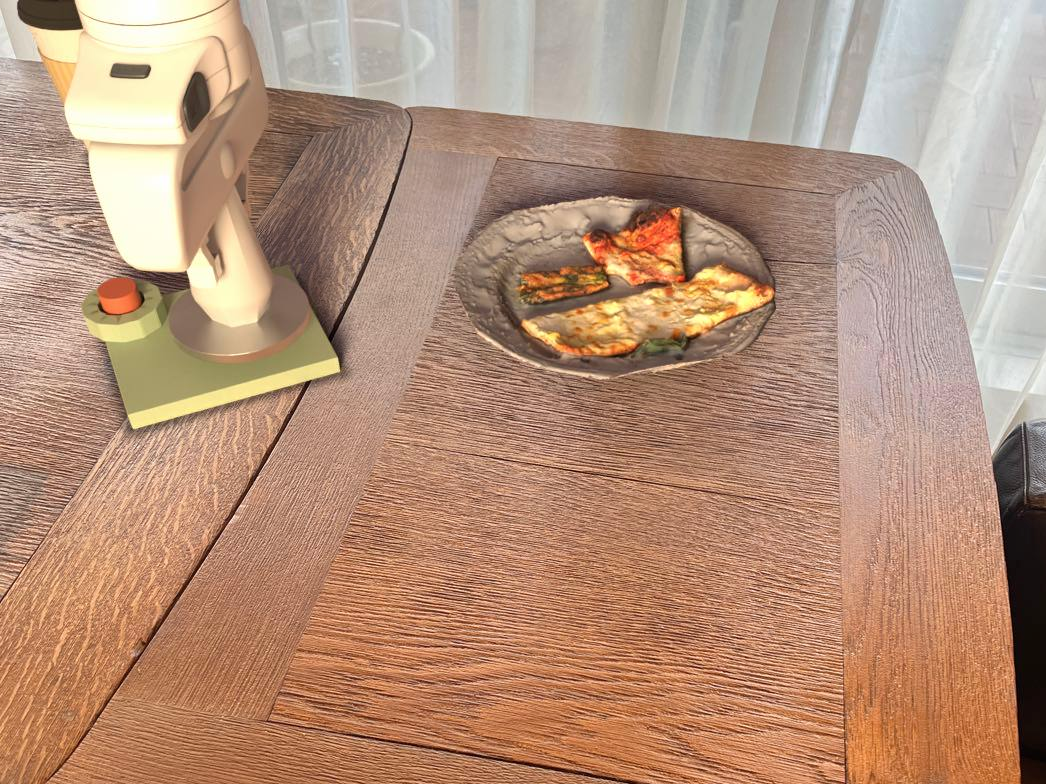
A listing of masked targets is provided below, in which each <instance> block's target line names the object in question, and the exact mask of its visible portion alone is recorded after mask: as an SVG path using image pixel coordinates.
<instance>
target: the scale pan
mask: <svg viewBox="0 0 1046 784" xmlns="http://www.w3.org/2000/svg"><path fill="white" fill-rule="evenodd" d="M273 276H274V283H275V284H274V288H273V293H272V297H271V301H270V306H269V308H268V309H267V311H266V312H265V313H264V314H263V316H262V317H261V318H260V319H259V321H258V322H255V323H251V324H246V325H242V326H237V327H229V326H227V325H224V324H222V323H219V322H217V321H214V320H212V319H211V318H210V317H209V315H208V314H207V313H206V312H205V311H204V310H203V309H202V308H201V307H200V305H199V304H198V303H197V302H196V301H195V299H194V297H193V295H192V292H191V288H188V289H189V290H188V291H186V292H185V293H184V294H183V295H182V296H180V297H179V298H178V300H177V301H176V302H175V303H174V305H173V306H172V308H171V310H170V313H169V317H168V326H169V330H170V333H171V336H172V338H173V340H174V342H175V344H176V345H177V346H178V347H179V348H180V349H181V350H182V351H183V352H185V353H186V354H188V355H190V356H192V357H194V358H196V359H199V360H203V361H207V362H212V363H221V364H234V363H244V362H251V361H255V360H259V359H263V358H266V357H269V356H271V355H274V354H276V353H278V352H280V351H282V350H284V349H286V348H287V347H289V346H290V345H292V344H293V343H294V342H295V341H297V340H298V339H299V338H300V337H301V336H302V334H303V333H304V332H305V330H306V329H307V327H308V325H309V321H310V316H311V312H310V306H311V305H310V306H309V304H310V301H309V298H308V296H307V293H306V291H304V288H302V287H301V285H300V284H299V285H300V286H299V285H297V284H296V283H295V282H293V281H291V280H289V279H287V278H285V277H282V276H279V275H276V274H273Z"/></svg>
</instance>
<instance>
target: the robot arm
mask: <svg viewBox="0 0 1046 784" xmlns="http://www.w3.org/2000/svg"><path fill="white" fill-rule="evenodd" d="M75 4H76V7H77V10H78V13H79V16H80V19H81V23H82V26H83V29H84V31H82V32H81V34H80V37H79V51H78V58H77V63H76V68H75V72H74V75H73V78H72V82H71V85H70V88H69V90H68V93H67V96H66V100H65V104H63V109H64V117H65V119H66V122H67V125H68V128H69V130H70V133H71V134H72V136H73V137H74V139H76V140H80V141H83V140H88V141H90V145H89V152H88V153H87V155H88V158H87V159H88V165H89V166H88V167H89V172H90V176H91V181H92V184H93V187H94V190H95V193H96V196H97V199H98V203H99V205H100V208H101V211H102V214H103V216H104V219H105V222H106V225H107V227H108V229H109V232H110V235H111V237H112V240H113V242H114V245H115V247H116V249H117V251H118V253H119V255H120V257H121V258H122V259H123V260H124V262H125V263H126V264H127V265H129V266H130V267H132V268H133V269H136V270H137V271H142V272H144V271H145V272H158V273H184V272H186V273H187V277H188V281H189V280H190V283H191V284H192V285H193V286H194V287H196V288H208V289H213V288H215V287H216V286H217V284H218V281H219V279H220V277H221V275H222V273H223V271H222V268H221V266H220V259H219V255H218V254H216V253H210V251H209V250H208V248H207V246H206V244H207V243H208V240H209V238H208V235H207V234H208V232H209V230H210V228H211V227H212V225H213V223H214V221H215V219H216V217H217V216H218V214H219V212H220V210H221V208H222V206H223V205H224V203H225V201H226V199H227V197H228V195H229V193H230V192H231V190H232V188H233V186H234V185H235V187H236V190H237V192H238V194H239V197H240V199H241V201H242V204H243V206H244V208H245V211H246V213H247V215H248V218H249V220H250V221H251V218H252V215H253V212H252V208H251V203H250V199H249V193H250V192H249V191H250V162H249V158H250V157H251V155H252V153H253V151H254V149H255V147H256V145H257V144H258V142H259V140H260V139H261V137H262V135H263V133H264V131H265V129H266V128H267V126H268V124H269V121H270V120H269V118H270V100H269V96H268V91H267V86H266V83H265V78H264V75H263V71H262V67H261V63H260V59H259V55H258V51H257V48H256V45H255V42H254V39H253V37H252V34H251V32H250V29H249V27H248V26H247V25H246V24H245V23H244V18H243V15H242V14H243V13H242V10H241V9H242V8H241V4H240V0H75ZM225 141H230V143H231V146H232V148H233V150H234V153H235V156H236V162H237V166H236V170H235V172H234V174H233V175H232V176H231V177H230V178H228V179H226V178H225V176H224V173H223V170H222V166H221V158H220V155H221V150H222V146H223V144H224V143H225ZM190 283H189V284H190Z"/></svg>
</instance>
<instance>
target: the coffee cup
mask: <svg viewBox="0 0 1046 784" xmlns="http://www.w3.org/2000/svg"><path fill="white" fill-rule="evenodd" d="M16 10H17V16H18V18H19V21H20V22H22V23H23V24H25V25H27V26H28V28H29V30H30V33H31V34H32V36H33V39H34V41H35V43H36V45H37V46H36V47H37V52H38V54H39V56H40V59H41V60H42V62H43V65H44V66H45V69H46V71H47V73H48V75H49V77H50V79H51V81H52V83H53V85H54V87H55V90H56V92H57V93H58V95H59V98H60V100H61V102H62V104H63V105H64V104H65V100H66V96H67V93H68V90H69V88H70V85H71V82H72V78H73V75H74V72H75V68H76V63H77V58H78V51H79V37H80V34H81V32H82V31H84V29H83V26H82V23H81V19H80V16H79V13H78V10H77V7H76V4H75V0H17V2H16ZM82 142H83V144H84V146H85V148H86V151H87V153H89V145H90V141H88V140H82Z"/></svg>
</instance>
